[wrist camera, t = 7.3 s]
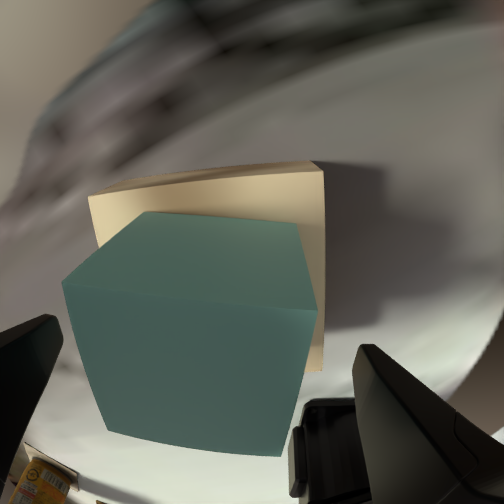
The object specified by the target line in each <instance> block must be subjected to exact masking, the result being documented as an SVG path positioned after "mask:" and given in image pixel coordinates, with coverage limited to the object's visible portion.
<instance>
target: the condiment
mask: <svg viewBox="0 0 504 504" xmlns="http://www.w3.org/2000/svg"><path fill="white" fill-rule="evenodd" d="M23 443H24V442H23ZM24 446H25V449H26V452H27V454H28V456H29V459H30V463H29V464H28V466H27V467H26V469H25V471H24V472H23V474H22V476H21V479H20V480H19V483H18V485H17V486H16V489H15V490H14V493H13V495H12V496H11V499H10V501H9V503H8V504H64V501H65V499H66V496H67V494H68V492H69V489H70V488H71V489H73V490H75V491H77V492H78V484H77V474H76V473H74V472H73V471H71V470H70V469H68V468H66V467H65V466H63V465H61V464H59V463H58V462H56V461H55V460H53V459H51V458H49V457H47V456H46V455H45V454H42V453H40V452H39V451H37V450H36V449H34V448H33V447H30V446H29V445H27V444H25V443H24Z"/></svg>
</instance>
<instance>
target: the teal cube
mask: <svg viewBox="0 0 504 504" xmlns="http://www.w3.org/2000/svg"><path fill="white" fill-rule="evenodd" d="M62 287H63V291H64V296H65V300H66V305H67V309H68V313H69V317H70V321H71V325H72V328H73V332H74V336H75V339H76V343H77V346H78V349H79V353H80V356H81V359H82V362H83V366H84V369H85V372H86V375H87V377H88V380H89V383H90V386H91V389H92V392H93V394H94V397H95V400H96V402H97V405H98V407H99V410H100V412H101V415H102V417H103V420H104V422H105V425H106V427H107V429H108V431H112V432H116V433H119V434H123V435H127V436H131V437H135V438H140V439H144V440H149V441H153V442H158V443H163V444H168V445H174V446H180V447H186V448H192V449H199V450H206V451H213V452H222V453H231V454H242V455H256V456H274V457H281V454H282V451H283V448H284V445H285V441H286V438H287V434H288V431H289V427H290V424H291V420H292V417H293V413H294V409H295V406H296V402H297V398H298V394H299V390H300V387H301V383H302V379H303V375H304V371H305V367H306V362H307V358H308V354H309V350H310V346H311V341H312V337H313V332H314V328H315V323H316V319H317V314H318V308H317V304H316V299H315V295H314V291H313V287H312V283H311V279H310V275H309V271H308V267H307V263H306V259H305V255H304V251H303V247H302V243H301V240H300V236H299V232H298V228H297V225H296V223H286V222H275V221H263V220H252V219H240V218H227V217H214V216H201V215H187V214H172V213H156V212H143V213H142V214H140V215H139V216H138V217H137V218H135V219H134V220H133V221H132V222H130V223H129V224H128V225H127V226H125V227H124V228H123V229H122V230H120V231H119V232H118V233H117V234H116V235H114V236H113V237H112V238H111V239H110V240H108V241H107V242H106V243H105V244H104V245H102V246H101V247H100V248H99V249H98V250H97V251H95V252H94V253H93V254H92V255H91V256H90V257H89V258H87V259H86V260H85V261H84V262H83V263H82V264H81V265H79V266H78V267H77V268H76V269H75V270H74V271H73V272H72V273H71V274H69V275H68V276H67V277H66V278H65V279H64V280H63V281H62Z"/></svg>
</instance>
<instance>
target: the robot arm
mask: <svg viewBox="0 0 504 504" xmlns="http://www.w3.org/2000/svg"><path fill="white" fill-rule="evenodd" d="M62 345H63V335H62V331H61V328H60V325H59V321H58V319H57V317H56V316H54V315H49V314H43V315H41V316H38V317H36V318H34V319H31V320H29V321H26V322H24V323H22V324H19V325H17V326H15V327H12V328H10V329H8V330H5V331H3V332H0V498H1V495H2V492H3V489H4V486H5V482H6V480H7V477H8V474H9V471H10V468H11V466H12V463H13V461H14V458H15V455H16V453H17V450H18V448H19V445H20V443H21V440H22V438H23V436H24V433H25V431H26V429H27V426H28V424H29V422H30V419H31V417H32V415H33V413H34V411H35V408H36V406H37V404H38V402H39V400H40V398H41V396H42V393H43V391H44V389H45V387H46V385H47V383H48V381H49V378H50V376H51V373H52V370H53V368H54V365H55V363H56V360H57V358H58V355H59V353H60V350H61V348H62ZM352 376H353V386H354V395H355V400H346V401H310V402H307V403H306V404H305V405H304V407H303V411H302V415H301V419H300V423H299V426H296V427H295V428H293V430H292V434H291V438H290V442H289V446H288V466H289V495H290V496H291V497H292V498H299V504H504V445H503V444H501V443H500V442H498V441H497V440H495V439H494V438H492V437H491V436H489V435H488V434H486V433H485V432H484V431H482V430H481V429H479V428H478V427H477V426H475V425H474V424H473V423H472V422H470V421H469V420H468V419H466V418H465V417H464V416H463V415H461V414H460V413H459V412H456V410H455V409H454V408H453V407H451V406H450V405H449V404H448V403H447V402H445V401H444V400H443V399H442V398H440V397H439V396H438V395H437V394H435V393H434V392H433V391H432V390H431V389H429V388H428V387H427V386H426V385H424V384H423V383H422V382H421V381H419V380H418V379H417V378H416V377H414V376H413V375H412V374H411V373H410V372H408V371H407V370H406V369H405V368H403V367H402V366H401V365H400V364H398V363H397V362H396V361H395V360H393V359H392V358H391V357H390V356H388V355H387V354H386V353H385V352H383V351H382V350H381V349H380V348H379V347H377V346H376V345H374V344H361V345H360V346H359V348H358V351H357V354H356V357H355V361H354V364H353V368H352Z"/></svg>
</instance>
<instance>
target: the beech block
mask: <svg viewBox="0 0 504 504" xmlns="http://www.w3.org/2000/svg"><path fill="white" fill-rule="evenodd" d="M88 201H89V206H90V211H91V215H92V220H93V224H94V229H95V233H96V237H97V241H98V245H99V248H100V247H101V246H102V245H104V244H105V243H106V242H107V241H108V240H110V239H111V238H112V237H113V236H114V235H116V234H117V233H118V232H119V231H120V230H122V229H123V228H124V227H125V226H127V225H128V224H129V223H130V222H132V221H133V220H134V219H135V218H137V217H138V216H139V215H140V214H142V213H143V212H156V213H172V214H187V215H201V216H214V217H227V218H240V219H252V220H263V221H275V222H286V223H296V225H297V228H298V232H299V236H300V240H301V243H302V247H303V251H304V255H305V259H306V263H307V267H308V271H309V275H310V279H311V283H312V287H313V291H314V295H315V299H316V304H317V308H318V314H317V319H316V323H315V328H314V332H313V337H312V341H311V346H310V350H309V354H308V358H307V362H306V367H305V371H304V372H315V371H322V365H323V346H324V319H325V203H324V177H323V171H322V170H321V169H320V168H319V167H317V166H316V165H315V164H314V163H312V162H311V161H295V162H279V163H265V164H252V165H241V166H230V167H220V168H211V169H202V170H193V171H185V172H177V173H170V174H163V175H156V176H149V177H142V178H136V179H130V180H124V181H121V182H119V183H117V184H114V185H112V186H110V187H108V188H105V189H103V190H101V191H99V192H97V193H95V194H93V195H90V196H88Z"/></svg>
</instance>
